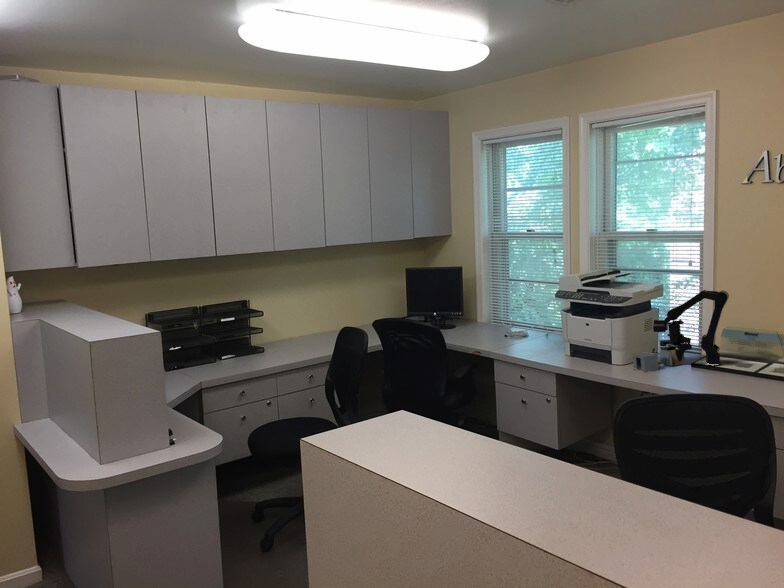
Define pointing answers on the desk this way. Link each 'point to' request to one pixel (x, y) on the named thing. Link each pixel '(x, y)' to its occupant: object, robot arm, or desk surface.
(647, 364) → the gauge frame
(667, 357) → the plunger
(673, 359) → the pusher block
